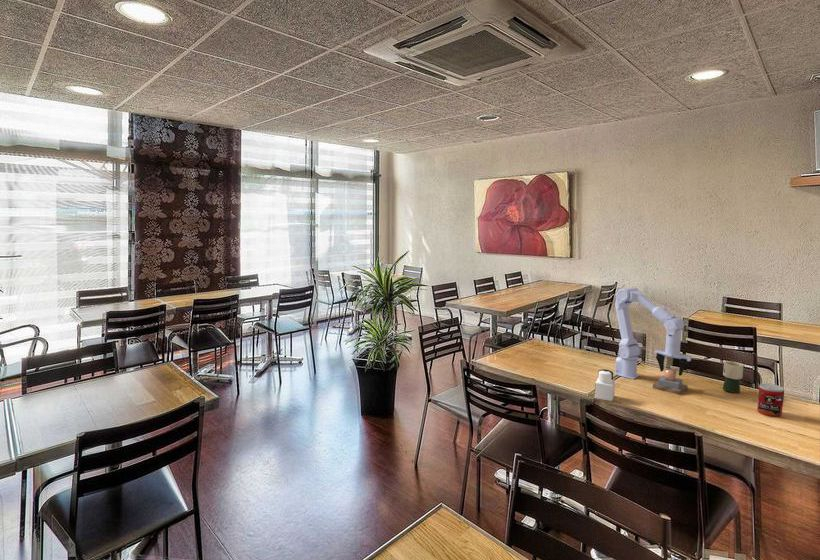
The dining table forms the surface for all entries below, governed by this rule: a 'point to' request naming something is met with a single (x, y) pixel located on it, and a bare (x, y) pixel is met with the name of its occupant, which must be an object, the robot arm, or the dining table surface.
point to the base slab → (671, 390)
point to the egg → (670, 375)
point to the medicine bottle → (605, 385)
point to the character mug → (732, 376)
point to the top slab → (670, 383)
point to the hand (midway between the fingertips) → (671, 372)
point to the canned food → (770, 400)
